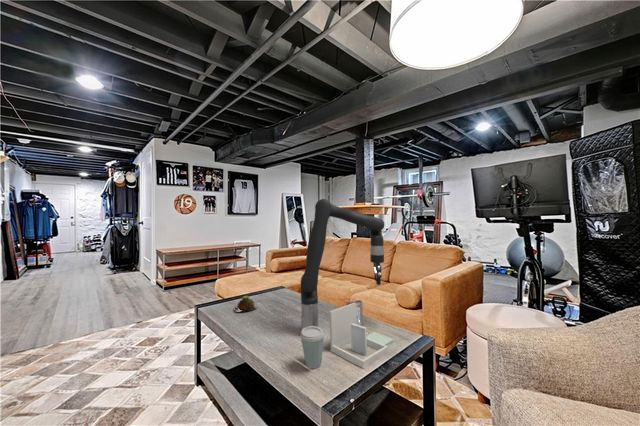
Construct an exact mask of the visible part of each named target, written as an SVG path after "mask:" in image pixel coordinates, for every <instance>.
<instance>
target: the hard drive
mask: <svg viewBox="0 0 640 426" xmlns="http://www.w3.org/2000/svg"><path fill="white" fill-rule="evenodd" d="M350 344H351V346H350V347H351V351H353V352H355V353H358V354H360V355H362V356H368V345H367V327H366V326H364V325H363V326H360V325H357V324H353V323H352V324H351V343H350Z"/></svg>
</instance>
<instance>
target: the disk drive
mask: <svg viewBox="0 0 640 426" xmlns="http://www.w3.org/2000/svg"><path fill="white" fill-rule="evenodd" d="M354 302H355V303H356V316H358V318H359V320H360V323H361V325H362V326H363V327H364V320H363V317H364V316H363V313H364V312H363V301H362V300H359V299H358V300H355V301H350V302H347V303H346V304H345V306H346V305H349V304H352V303H354ZM356 323H357V325H360V324H359V322H358V319H357V317H356Z"/></svg>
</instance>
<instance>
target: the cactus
mask: <svg viewBox="0 0 640 426" xmlns="http://www.w3.org/2000/svg"><path fill="white" fill-rule="evenodd" d="M249 297H250V296H249V295H245V296H241V299H240V300H239V301H238V303H237V307H238V308H239V309H240V310H242V311H241V312H240V313H246V312H250V311H252V310H253V311H254V310H256V306H255V301H254V300H253V299H251V298H249Z"/></svg>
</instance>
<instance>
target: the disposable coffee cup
mask: <svg viewBox="0 0 640 426" xmlns="http://www.w3.org/2000/svg"><path fill="white" fill-rule="evenodd" d="M299 337H300V339H301V346H302V351H303V357H304V361H305V364H306V367H307V368H309V369H313V370H314V369H318V368H319V367H321V365H322V360H323V359H322V358H323V351H324V350H323V348H324V339H325V332H324V331H323V329H322V328H321V327H320V326H319V327H316V326H309V327H305V328H304V329H302V328H301V331H300V334H299Z"/></svg>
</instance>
